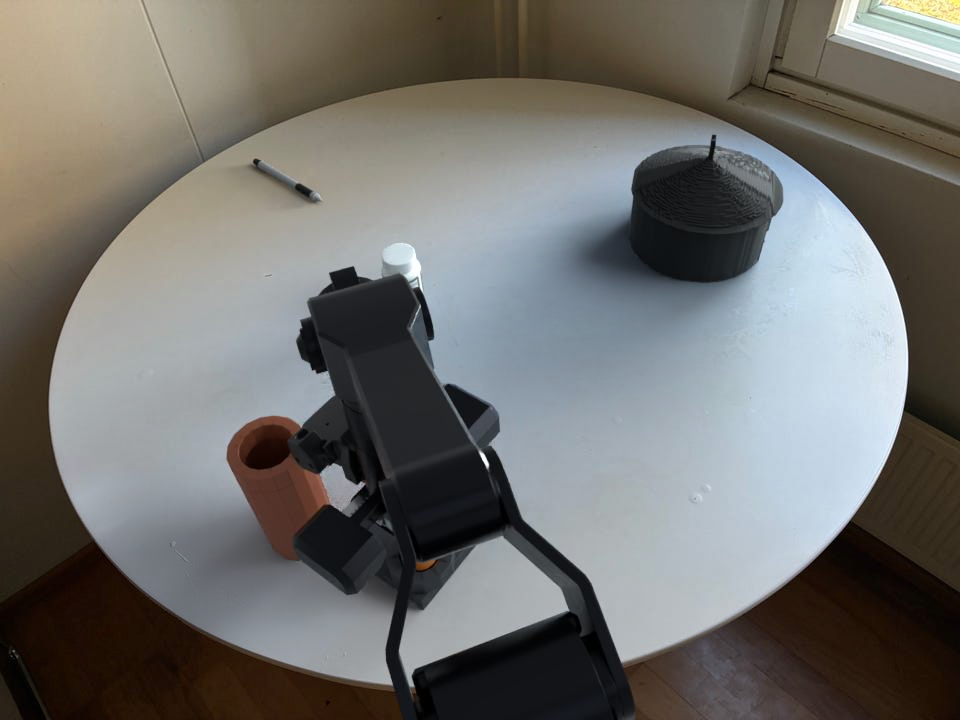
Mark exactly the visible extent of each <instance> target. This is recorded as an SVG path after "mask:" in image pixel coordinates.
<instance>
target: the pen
mask: <svg viewBox="0 0 960 720" xmlns="http://www.w3.org/2000/svg"><path fill="white" fill-rule="evenodd" d="M252 164H253V165H254V166H256V167H257V169H260V170H261V171H263V172H265V173H266V174H268V175H270V176H271V177H273V178H275V179H277V180H278V181H280V182H282V183H283V184H285V185H287V186H289V187H291V188H292V189H294V190H295V191H296V192H298V193H300V194H302V195H303V196H305V197H307V198H309V199H310V200H312V201H313V202H314V203H317V202H319V203H320V202H324V201H323V199H322V198H321V195H320V193H318V192H316V191H313V190H312V189H311V188H308V187H307V186H305V185H304V184H302V183H300V182H298V181H296V180H295V179H293V178H292V177H290V176H289V175H287V174H285V173H284V172H282V171H280V170H279V169H277V168H275V167H273V166H272V165H270V164H268V163H266V162H265V161H264V160H261V159H259V158H254V159H253V160H252Z"/></svg>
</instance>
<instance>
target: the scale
mask: <svg viewBox="0 0 960 720" xmlns="http://www.w3.org/2000/svg"><path fill="white" fill-rule="evenodd" d="M368 531H369V532H371V533H372V534H374V536H375V537H376V538H377V539H378V540H379V541H380V542H381V543H382V545H383V546H384V547H385V550H386V553H387V554H386V557H385V559H384V561H383V564H382V566H381V568H380V569H379V570H378V571H377V572H376V573H375V574H374V576H376V577H377V578H378V579H380V580H381V581H382V582H384V583H385V584H387V585H388V586H389V587H391V588H392V589H393V590H395V591H396V592H398V587H399V582H400V578H401V573H402V568H403V562H402V559H401V556H400V553H399V550H398V546H397V543H396V540H395V539H394V538H393V537H391V536H390V535H388V534H387V533H385V532H384V531H382V530H381V529H379V528H378V527H377V526H375V525H374V524H373V525H372V526H371V527H370V528H369V530H368ZM475 547H476V546H473V547H470V548H467V549H464V550H461V551H459V552H456V553H453V554H450V555H447V556H445V557H442V558H439V559H436V560H435V562H434V563H433V565H432V566H430V567H429V568H427V569H425V570H420V571H417V570H415V575H414V580H413V585H412V590H411V595H410V599H409V602H412V603H413V604H415V605H416V606H417V607H419V609H421V610H426V608H427V607H428V606H429V604H430V603H431V602H432V601H433V599H434V598H435V597H436V596H437V595H438V593H439V592H440V591H441V590H442V588H443V587H444V586H445V585H446V583H447V582H448V581H449V579H451V577H452V576H453V575H454V574H455V572H456V571H457V570H458V569H459V567H460V566H461V565H462V563H463V562H464V561H465V560H466V558H468V556H469V555H470V554H471V552H472V551H473V550H474V548H475Z"/></svg>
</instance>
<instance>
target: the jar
mask: <svg viewBox="0 0 960 720" xmlns="http://www.w3.org/2000/svg"><path fill="white" fill-rule="evenodd" d="M301 428H302V425H300V424H299V423H298V422H296V421H294V420H293V419H292V418H290V417H287V416H280V415H276V414H274V415H266V416H260V417H257V418H255V419H254V420H251V421H249V422H247V423H245V424H244V425H243V426H241V428H239V430H237V431H236V432H235V433H234V434H233V435H232V437H231V439H230V441H229V443H228V445H227V448H226V462H227V464H228V466H229V468H230V471H231V472H232V474H233V476H234V478H235V480H236V482H237V484H238V486H239V488H240V489H241V491H242V493H243V495H244V497H245V499H246V501H247V503H248V505H249V507H250V509H251V510H252V513H253V514H254V517H255V518H256V520H257V522H258V523H259V526H260V528H261V529H262V532H263V533H264V536H265V537H266V539H267V541H268V543H269V545H270V546H271V548H272V549H273V550H274V552H275V553H276V554H277V555H278V556H280V557H282V558H284V559H287V560H292V561H300V560H299V559H298V558H297V556H296V554H295V551H294V549H293V542H292V537H293V536H294V535H295V533H296V532H297V531H298V530H299V529H300V528H301V527H302V526H303V525H304V524H305V523H306V522H307V521H308V520H309V519H310V518H311V517H312V516H313V515H314V514H315V513H316V512H317V511H318V510H319V509H320V508H321V507H322V506H323V505H325V504H331V505H332V503H331V500H330V497H329V495H328V492H327V489H326V487H325V484H324V482H323V479H322V476H321V473H320V474H319V475H318V474H314V473H312V472H310V471H307V470H305V469H303V468H301V467H300V466H299V465H298V464H297V462H296V461H295V459H294V458H293V456H292V455H291V453H290V450H289V446H288V443H287V441H288V440H289V439H290V438H291V437H292V436H293V435H294V434H295V433H296V432H297V431H299V430H300V429H301Z"/></svg>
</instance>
